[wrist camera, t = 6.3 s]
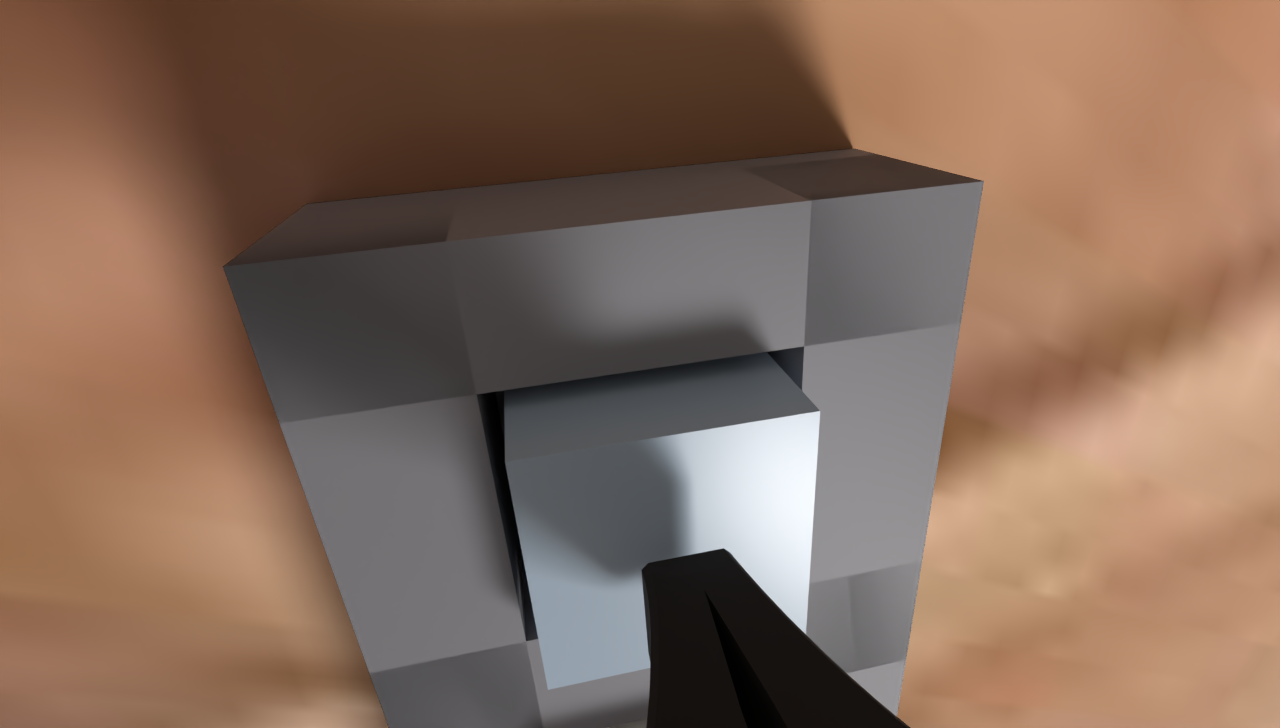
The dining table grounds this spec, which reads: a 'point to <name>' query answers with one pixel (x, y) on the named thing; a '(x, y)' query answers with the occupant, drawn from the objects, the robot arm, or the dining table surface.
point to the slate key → (655, 496)
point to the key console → (590, 347)
